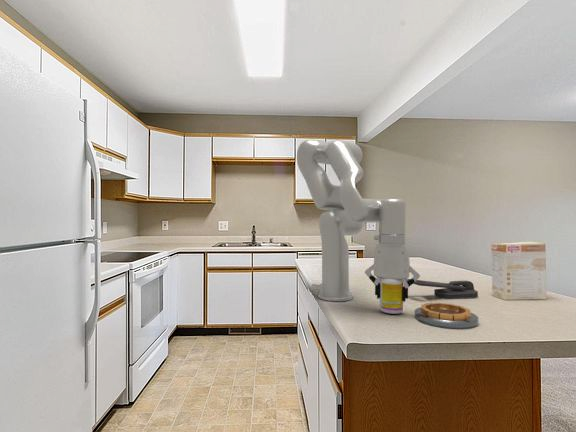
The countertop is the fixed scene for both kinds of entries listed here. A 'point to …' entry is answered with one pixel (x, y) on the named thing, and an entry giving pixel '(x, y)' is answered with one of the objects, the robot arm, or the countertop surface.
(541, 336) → the countertop surface
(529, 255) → the coffeecake box
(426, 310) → the rosette plate
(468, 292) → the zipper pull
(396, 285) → the supplement bottle
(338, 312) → the countertop surface
